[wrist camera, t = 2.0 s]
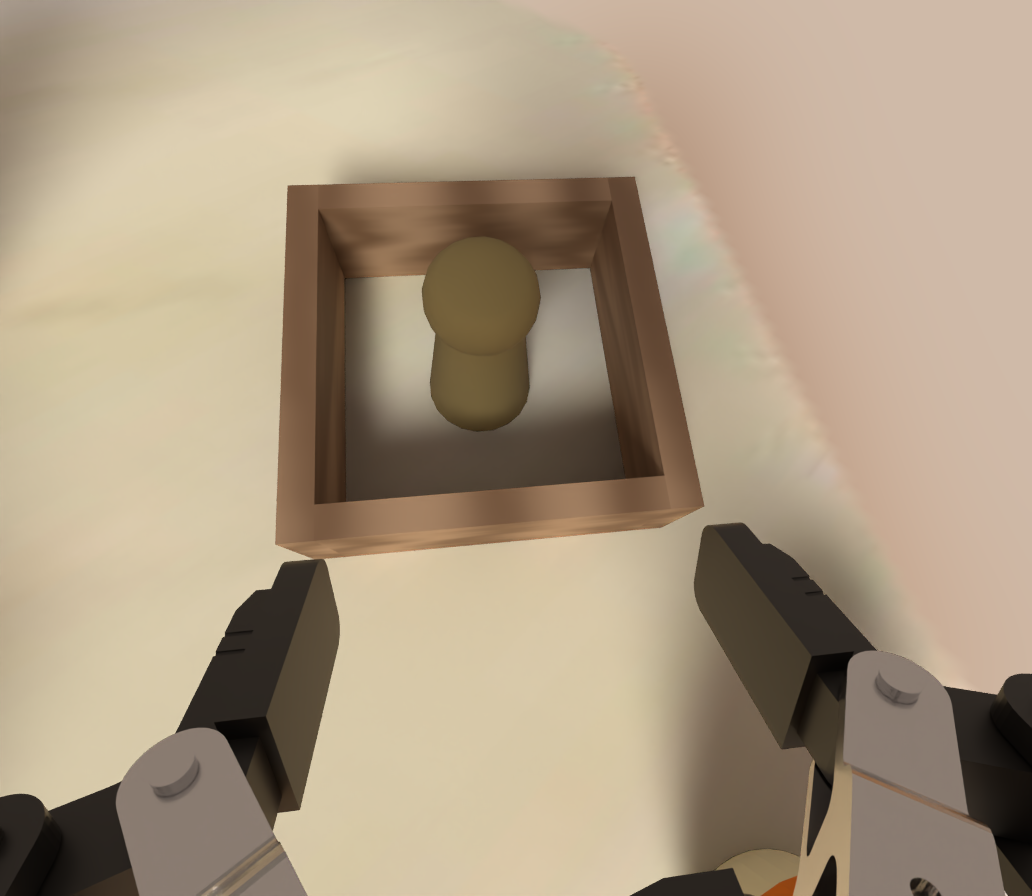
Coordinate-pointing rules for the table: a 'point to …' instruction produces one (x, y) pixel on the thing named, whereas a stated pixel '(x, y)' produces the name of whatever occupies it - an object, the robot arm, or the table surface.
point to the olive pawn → (480, 331)
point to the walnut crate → (409, 251)
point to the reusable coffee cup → (765, 872)
